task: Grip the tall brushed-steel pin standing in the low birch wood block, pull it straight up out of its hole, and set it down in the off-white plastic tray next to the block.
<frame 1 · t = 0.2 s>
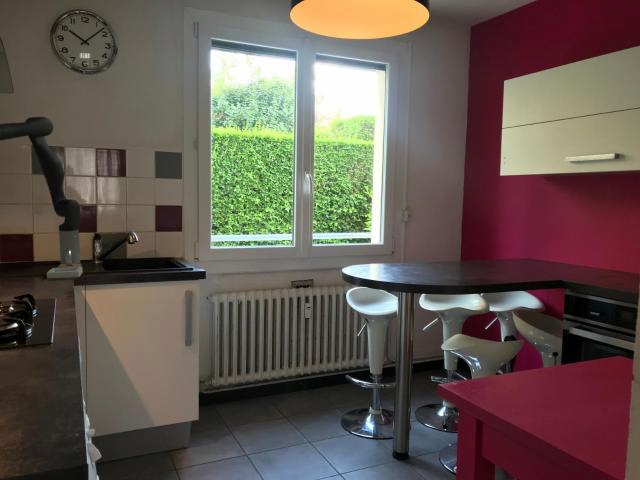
pin block: (69, 273, 244), on the worktop
pin: (69, 270, 244), point 1 cm above the worktop, touching pin block
tray: (65, 277, 233), on the worktop
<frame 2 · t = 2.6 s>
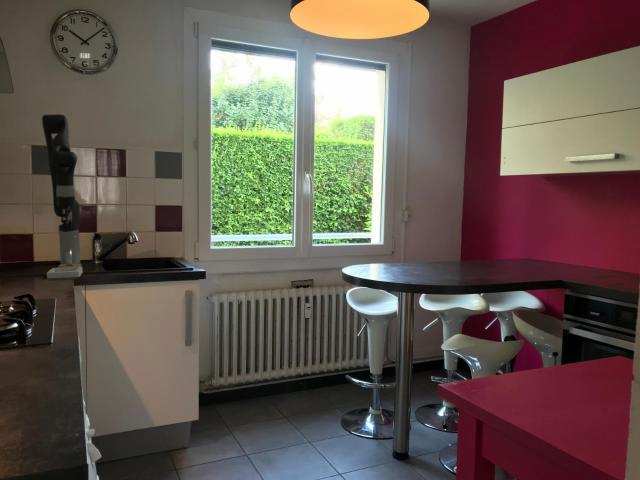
hand: (67, 231, 242), 20 cm above the worktop, fingers open, 8 cm apart
nothing on the worktop moved.
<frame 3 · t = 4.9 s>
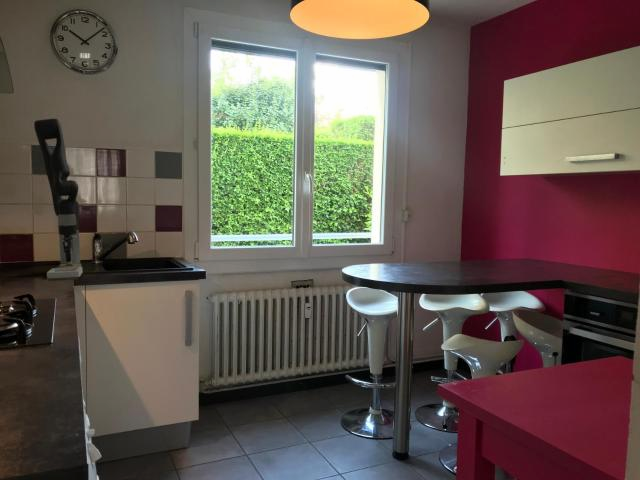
hand: (69, 261, 243), 6 cm above the worktop, fingers closed on pin, 2 cm apart
pin: (69, 270, 244), point 1 cm above the worktop, touching gripper
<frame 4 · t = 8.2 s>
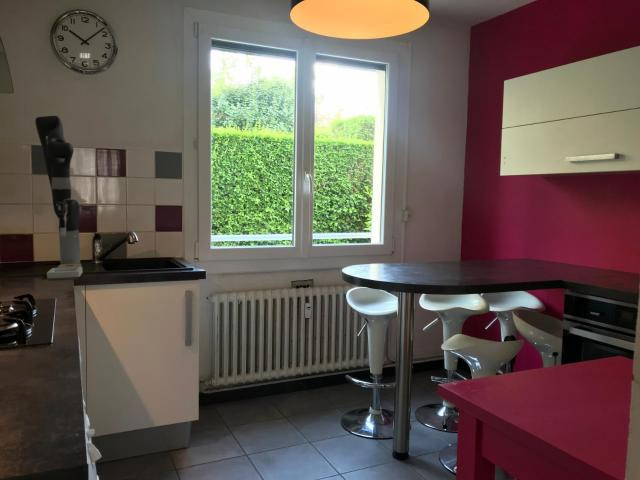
hand: (62, 227, 232), 22 cm above the worktop, fingers closed on pin
pin: (63, 236, 233), point 18 cm above the worktop, touching gripper
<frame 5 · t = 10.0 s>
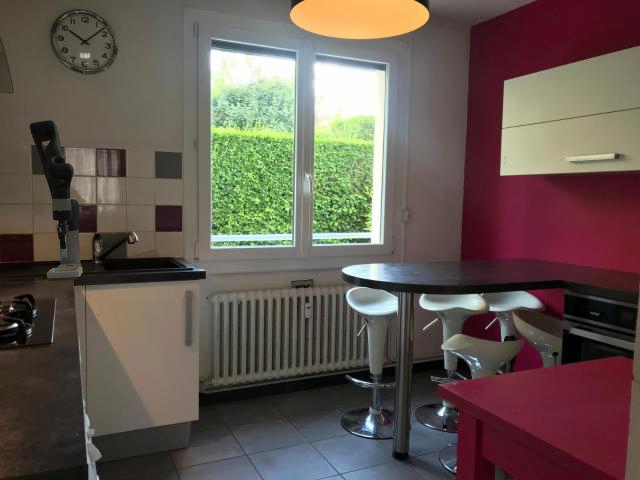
hand: (63, 248, 231), 13 cm above the worktop, fingers closed on pin
pin: (64, 258, 232), point 9 cm above the worktop, touching gripper
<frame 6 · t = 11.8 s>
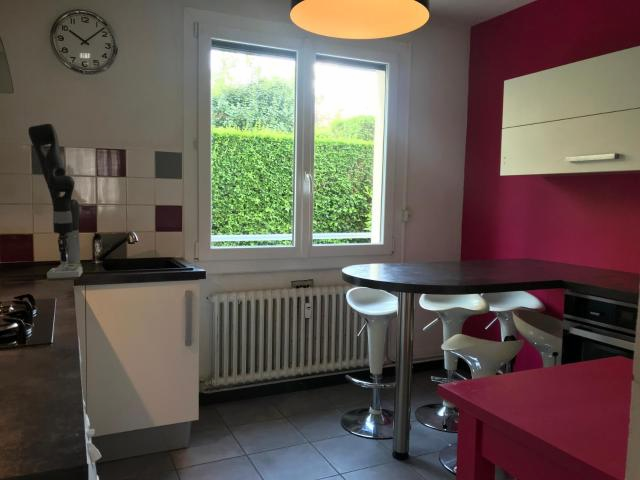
hand: (64, 260, 232), 8 cm above the worktop, fingers open, 3 cm apart
pin: (65, 275, 233), point 1 cm above the worktop, touching tray
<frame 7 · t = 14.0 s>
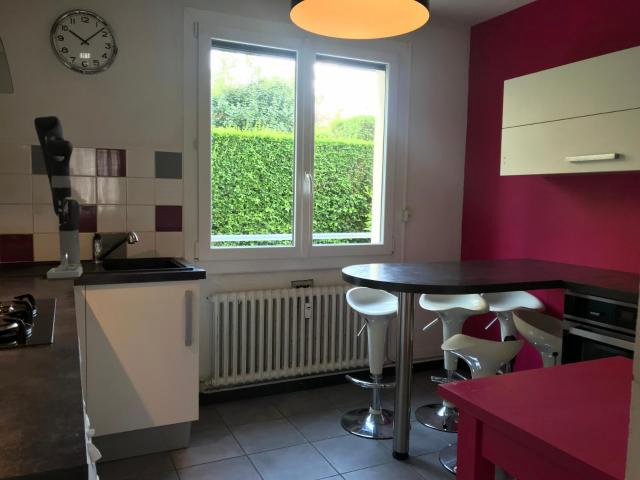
hand: (63, 223, 232), 24 cm above the worktop, fingers open, 8 cm apart
nothing on the worktop moved.
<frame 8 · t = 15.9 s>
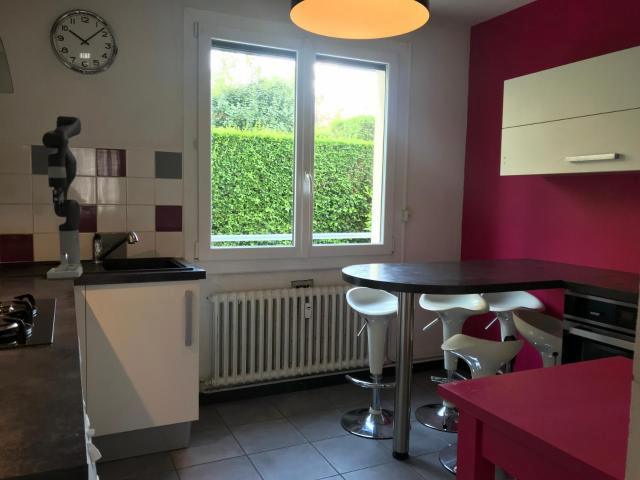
hand: (59, 212, 244), 28 cm above the worktop, fingers open, 8 cm apart
nothing on the worktop moved.
at the end: pin inside the target area on the tray (0.1 cm from its centre), point 1.0 cm above the tray's base; the gripper is holding nothing; pin moved 12.0 cm from its start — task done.
